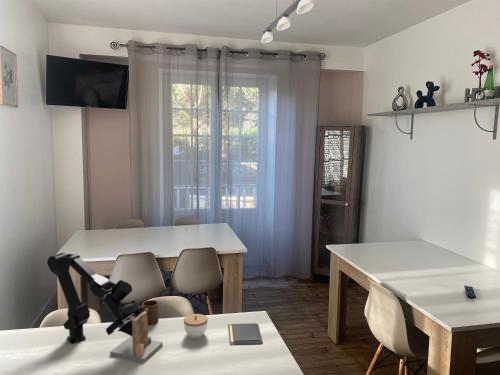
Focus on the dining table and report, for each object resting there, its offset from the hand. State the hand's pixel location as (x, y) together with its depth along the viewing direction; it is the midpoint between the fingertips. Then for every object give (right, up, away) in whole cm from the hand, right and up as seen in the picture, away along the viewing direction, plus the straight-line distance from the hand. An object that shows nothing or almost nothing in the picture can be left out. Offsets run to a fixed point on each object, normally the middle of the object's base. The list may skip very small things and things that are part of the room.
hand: (137, 336), depth 160 cm
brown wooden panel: (+1, -5, +1) cm, 5 cm away
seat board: (-1, -7, +3) cm, 7 cm away
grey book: (+44, -7, +18) cm, 48 cm away
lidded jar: (+22, -6, +16) cm, 28 cm away
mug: (-2, -4, +27) cm, 27 cm away
